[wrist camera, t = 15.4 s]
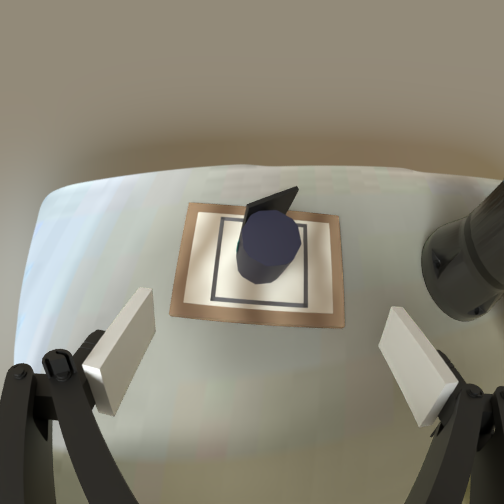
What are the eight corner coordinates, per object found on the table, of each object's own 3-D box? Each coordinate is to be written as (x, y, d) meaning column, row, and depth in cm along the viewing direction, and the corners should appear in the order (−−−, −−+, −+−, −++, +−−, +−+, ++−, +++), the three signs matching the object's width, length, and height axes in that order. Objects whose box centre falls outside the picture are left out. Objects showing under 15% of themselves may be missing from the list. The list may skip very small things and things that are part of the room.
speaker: (231, 229, 37) (237, 183, 27) (277, 227, 38) (297, 182, 28) (236, 290, 34) (244, 261, 25) (285, 286, 35) (311, 257, 26)
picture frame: (336, 219, 40) (339, 214, 39) (341, 328, 34) (345, 326, 33) (190, 206, 40) (188, 201, 39) (170, 316, 33) (168, 313, 32)
